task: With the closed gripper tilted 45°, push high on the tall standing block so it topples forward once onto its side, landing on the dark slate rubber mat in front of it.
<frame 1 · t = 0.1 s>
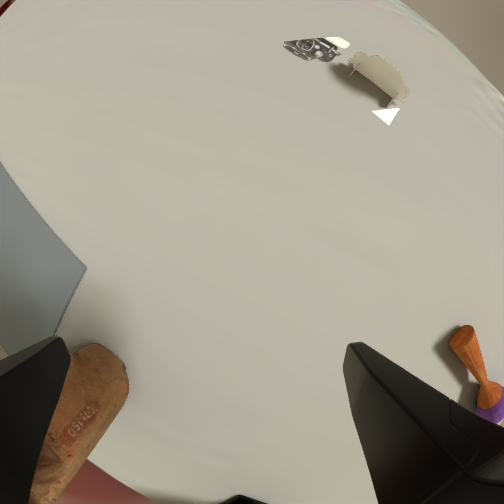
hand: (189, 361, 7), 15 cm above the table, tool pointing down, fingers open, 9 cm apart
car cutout: (339, 61, 22), on the table
block: (99, 379, 24), on the table
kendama: (473, 374, 24), on the table
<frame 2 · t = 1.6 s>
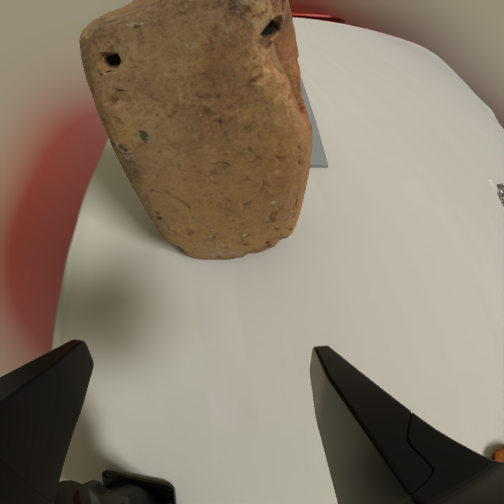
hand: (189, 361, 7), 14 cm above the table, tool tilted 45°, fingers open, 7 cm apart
block: (231, 226, 25), on the table
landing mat: (234, 104, 33), on the table
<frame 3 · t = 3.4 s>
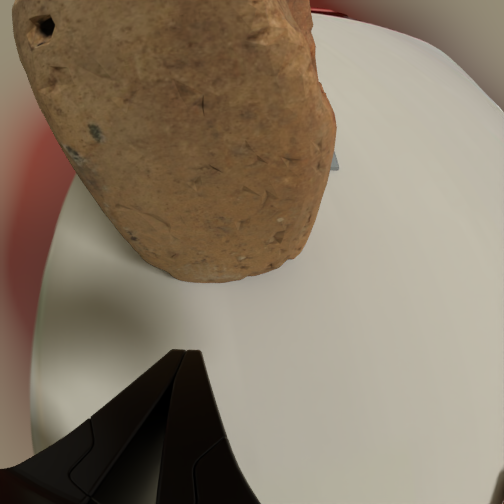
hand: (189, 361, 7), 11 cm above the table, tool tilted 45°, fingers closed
block: (227, 241, 21), on the table
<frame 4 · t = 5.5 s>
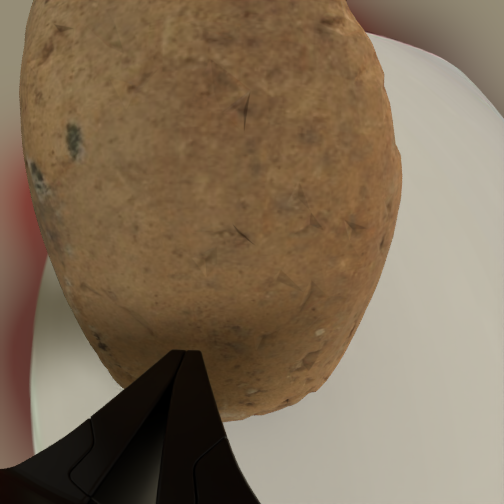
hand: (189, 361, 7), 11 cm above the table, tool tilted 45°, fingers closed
block: (223, 373, 15), point 2 cm above the table
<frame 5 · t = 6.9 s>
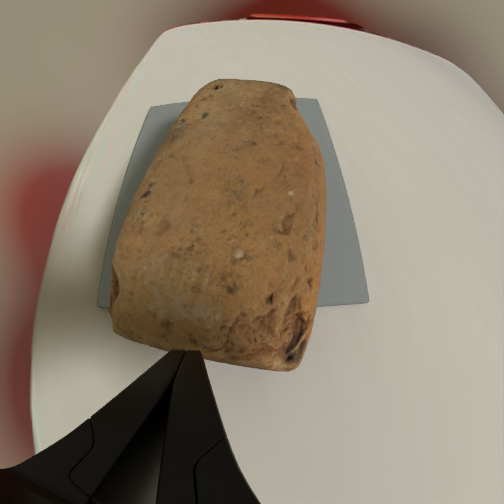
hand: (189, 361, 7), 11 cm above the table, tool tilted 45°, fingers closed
block: (197, 363, 13), point 4 cm above the table, touching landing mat
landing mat: (229, 173, 24), on the table
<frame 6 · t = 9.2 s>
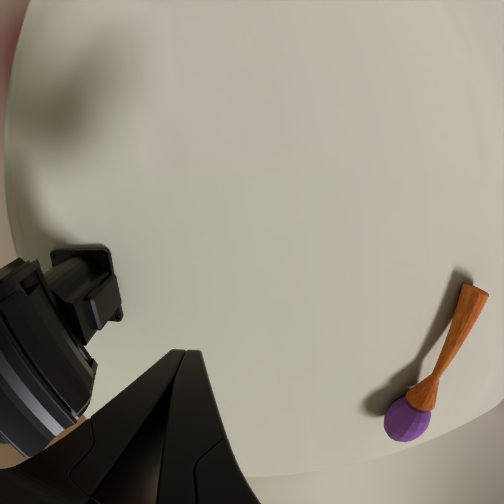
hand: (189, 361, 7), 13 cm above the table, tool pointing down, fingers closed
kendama: (426, 359, 25), on the table
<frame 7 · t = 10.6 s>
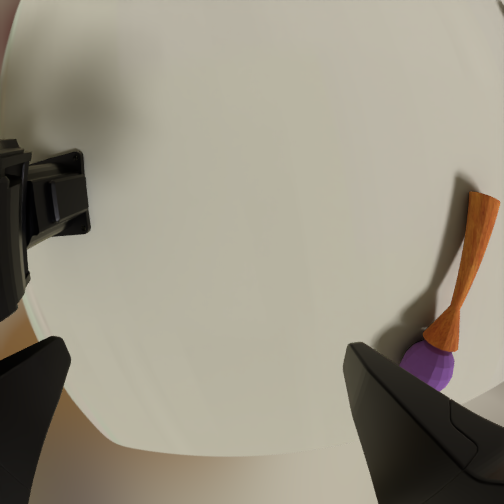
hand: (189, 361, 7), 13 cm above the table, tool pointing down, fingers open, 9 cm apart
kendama: (441, 291, 22), on the table
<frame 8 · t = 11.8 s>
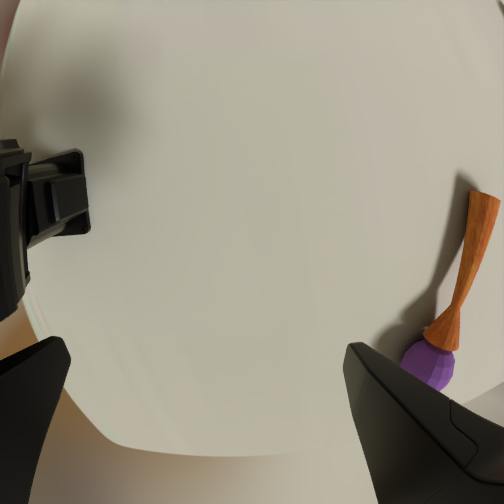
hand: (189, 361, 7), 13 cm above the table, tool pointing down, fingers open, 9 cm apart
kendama: (442, 290, 22), on the table
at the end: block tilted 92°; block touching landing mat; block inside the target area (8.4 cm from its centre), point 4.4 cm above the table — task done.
